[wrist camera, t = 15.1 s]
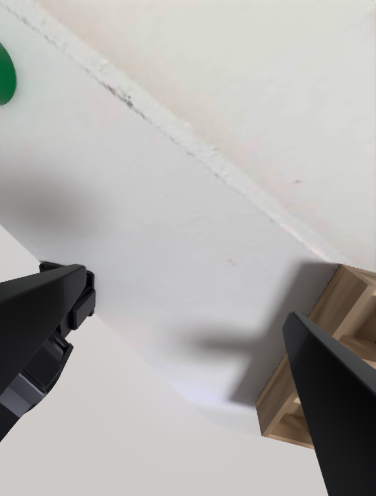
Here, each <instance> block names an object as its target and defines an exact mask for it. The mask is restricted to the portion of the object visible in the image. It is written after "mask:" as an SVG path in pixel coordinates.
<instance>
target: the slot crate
mask: <svg viewBox="0 0 376 496" xmlns="http://www.w3.org/2000/svg"><path fill="white" fill-rule="evenodd" d="M308 319H310V320H311V321H312V322H314V323H315V324H316V325H317V326H319V327H320V328H321V329H323V330H324V331H325V332H327V333H328V334H329V335H331V336H332V337H333V338H335V339H336V340H337V341H339V342H340V343H341V344H343V345H344V346H345V347H347V348H348V349H349V350H351V351H352V352H353V353H355V354H356V355H357V356H358V357H360V358H361V359H362V360H364V361H365V362H366V363H368V364H369V365H370V366H372V367H373V368H374V369H376V273H373V272H369V271H365V270H362V269H358V268H354V267H350V266H346V265H343V264H340V266H339V267H338V269H337V271H336V272H335V274H334V276H333V277H332V279H331V280H330V282H329V284H328V285H327V287H326V289H325V290H324V292H323V294H322V295H321V297H320V298H319V300H318V302H317V303H316V305H315V307H314V308H313V310H312V311H311V313H310V315H309V316H308ZM255 405H256V410H257V415H258V420H259V425H260V430H261V435H262V436H264V437H268V438H272V439H276V440H280V441H284V442H288V443H291V444H295V445H299V446H303V447H307V448H311V449H314V446H313V443H312V439H311V436H310V433H309V429H308V426H307V423H306V419H305V416H304V413H303V409H302V406H301V403H300V400H299V396H298V393H297V390H296V386H295V383H294V380H293V376H292V373H291V369H290V366H289V361H288V356H287V352H286V354H285V355H284V357H283V359H282V360H281V362H280V364H279V365H278V367H277V368H276V370H275V372H274V373H273V375H272V377H271V378H270V380H269V381H268V383H267V385H266V386H265V388H264V390H263V391H262V393H261V394H260V396H259V398H258V399H257V401H256V403H255ZM314 450H315V449H314Z"/></svg>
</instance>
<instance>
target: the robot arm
mask: <svg viewBox="0 0 376 496" xmlns="http://www.w3.org/2000/svg"><path fill="white" fill-rule="evenodd" d="M44 266H45V267H44ZM39 269H40V273H37V274H33V275H29V276H25V277H21V278H17V279H13V280H9V281H5V282H1V283H0V442H1V440H2V439H3V438H4V437H5V436H6V434H7V433H8V432H9V430H10V429H11V428H12V427H13V426H14V425H15V424H16V422H17V421H18V420H19V419H20V418H21V417H22V415H23V414H25V413H26V412H28V411H30V410H31V409H32V408H33V407H35V406H36V405H37V404H38V403H39V402H40V401H41V400H42V399H43V398H44V397H45V396H46V395H47V394H48V393H49V392H50V390H51V389H52V388H53V386H54V385H55V384H56V382H57V380H58V379H59V377H60V375H61V372H62V370H63V368H64V366H65V364H66V362H67V360H68V358H69V356H70V354H71V352H72V350H73V346H72V344H71V343H68V342H67V341H66V340H65V337H66V336H67V335H68V334H69V333H70V331H71V330H76V329H78V327H79V326H80V325H81V323H82V322H83V321H84V320H85V319H86V317H87V316H92V315H93V314H94V307H95V294H96V291H95V289H94V274H93V273H92V272H89V271H86V267H85V266H83V265H79V264H73V265H69V266H61V265H57V264H52V263H48V262H43V263H41V264H40V265H39ZM88 275H89V276H90V277H89V276H88ZM283 336H284V341H285V346H286V351H287V356H288V361H289V366H290V369H291V373H292V376H293V380H294V383H295V386H296V390H297V393H298V396H299V400H300V403H301V406H302V409H303V413H304V416H305V419H306V423H307V426H308V429H309V433H310V436H311V439H312V443H313V446H314V449H315V453H316V456H317V459H318V462H319V466H320V469H321V472H322V476H323V479H324V482H325V486H326V489H327V492H328V496H376V369H374V368H373V367H372V366H370V365H369V364H368V363H366V362H365V361H364V360H362V359H361V358H360V357H358V356H357V355H356V354H355V353H353V352H352V351H351V350H349V349H348V348H347V347H345V346H344V345H343V344H341V343H340V342H339V341H337V340H336V339H335V338H333V337H332V336H331V335H329V334H328V333H327V332H325V331H324V330H323V329H321V328H320V327H319V326H317V325H316V324H315V323H314V322H312V321H311V320H310V319H308V318H307V317H306V316H304V315H303V314H301V313H297V312H290V313H289V315H288V317H287V319H286V321H285V323H284V325H283Z"/></svg>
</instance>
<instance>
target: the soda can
mask: <svg viewBox="0 0 376 496" xmlns="http://www.w3.org/2000/svg"><path fill="white" fill-rule="evenodd" d="M16 87H17V76H16V71H15V68H14V65H13V62H12V60H11V58H10V56H9V54H8V52H7V51H6V49H5V48H4V46H3V45H2V44H1V43H0V106H1V105H4V104H6V103H7V102H9V101H10V100H11V98H12V97H13V96H14V94H15V91H16Z"/></svg>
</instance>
